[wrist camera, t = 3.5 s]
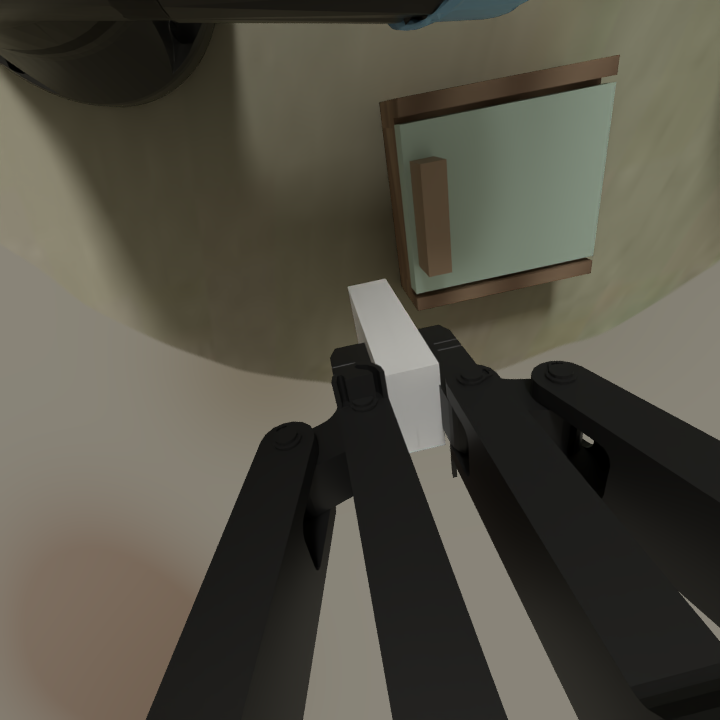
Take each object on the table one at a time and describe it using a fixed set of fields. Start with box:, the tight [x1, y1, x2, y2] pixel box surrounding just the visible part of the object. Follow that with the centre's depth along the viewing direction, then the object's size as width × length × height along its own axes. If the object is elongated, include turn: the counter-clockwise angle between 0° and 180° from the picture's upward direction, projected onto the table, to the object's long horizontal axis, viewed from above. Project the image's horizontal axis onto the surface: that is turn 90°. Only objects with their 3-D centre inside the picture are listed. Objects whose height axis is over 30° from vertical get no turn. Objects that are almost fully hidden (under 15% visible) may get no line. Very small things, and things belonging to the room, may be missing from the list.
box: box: [379, 55, 620, 311], centre depth 31 cm, size 14×14×6 cm
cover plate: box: [394, 82, 616, 294], centre depth 28 cm, size 14×11×4 cm
